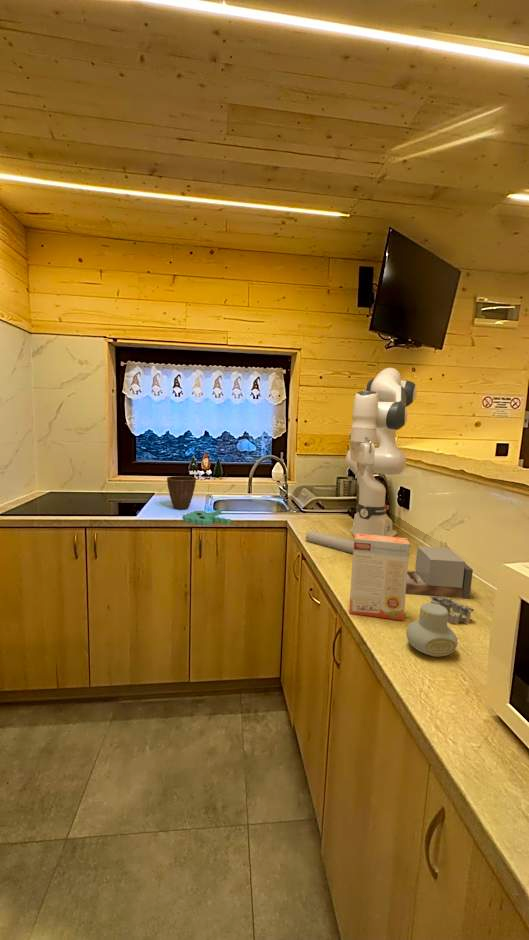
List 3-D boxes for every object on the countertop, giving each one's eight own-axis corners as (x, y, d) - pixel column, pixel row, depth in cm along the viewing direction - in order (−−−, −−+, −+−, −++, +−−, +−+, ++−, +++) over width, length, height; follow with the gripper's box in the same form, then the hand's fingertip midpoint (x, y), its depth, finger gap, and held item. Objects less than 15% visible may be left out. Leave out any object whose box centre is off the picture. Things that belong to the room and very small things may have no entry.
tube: (302, 533, 175) (357, 546, 159) (309, 526, 178) (364, 539, 163) (304, 544, 177) (359, 558, 161) (311, 537, 180) (365, 551, 164)
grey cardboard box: (427, 585, 127) (430, 559, 126) (415, 569, 140) (417, 545, 139) (462, 587, 126) (465, 561, 125) (446, 571, 139) (448, 547, 138)
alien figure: (220, 514, 217) (180, 515, 209) (220, 510, 216) (180, 511, 209) (231, 524, 198) (188, 526, 191) (231, 519, 198) (188, 521, 191)
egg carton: (474, 624, 111) (476, 610, 111) (448, 625, 110) (449, 610, 110) (450, 606, 122) (451, 592, 121) (425, 606, 121) (427, 593, 120)
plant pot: (160, 507, 223) (160, 477, 220) (183, 503, 234) (183, 475, 232) (178, 513, 213) (179, 481, 211) (201, 508, 224) (202, 478, 222)
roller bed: (392, 593, 128) (395, 564, 127) (383, 577, 141) (385, 550, 140) (469, 598, 127) (472, 569, 126) (452, 581, 140) (455, 555, 138)
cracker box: (401, 611, 116) (408, 537, 113) (403, 621, 110) (410, 543, 108) (349, 604, 119) (354, 531, 116) (348, 613, 113) (354, 537, 111)
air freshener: (415, 660, 93) (419, 616, 92) (399, 640, 101) (403, 600, 100) (462, 659, 94) (467, 616, 93) (443, 639, 103) (447, 600, 101)
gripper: (380, 439, 141) (377, 480, 143) (364, 435, 161) (361, 471, 163) (361, 438, 141) (358, 479, 143) (348, 435, 161) (345, 471, 163)
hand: (360, 475), depth 153 cm, fingers closed
